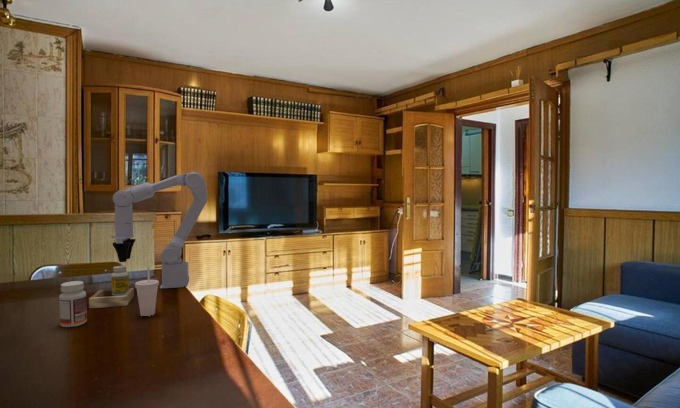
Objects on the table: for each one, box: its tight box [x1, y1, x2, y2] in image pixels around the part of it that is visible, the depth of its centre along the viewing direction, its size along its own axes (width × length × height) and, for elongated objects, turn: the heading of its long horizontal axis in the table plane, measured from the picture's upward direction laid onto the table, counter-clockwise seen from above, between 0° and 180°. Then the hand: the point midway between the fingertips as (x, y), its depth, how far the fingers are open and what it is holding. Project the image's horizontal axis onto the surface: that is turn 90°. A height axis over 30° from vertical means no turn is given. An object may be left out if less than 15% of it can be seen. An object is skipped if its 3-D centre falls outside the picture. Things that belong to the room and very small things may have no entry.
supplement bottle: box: [110, 265, 130, 296], centre depth 137 cm, size 5×5×10 cm
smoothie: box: [134, 266, 160, 317], centre depth 115 cm, size 6×6×14 cm
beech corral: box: [88, 287, 135, 309], centre depth 127 cm, size 10×10×3 cm
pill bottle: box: [58, 280, 88, 328], centre depth 107 cm, size 6×6×11 cm
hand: (124, 260), depth 143 cm, fingers open, 5 cm apart
